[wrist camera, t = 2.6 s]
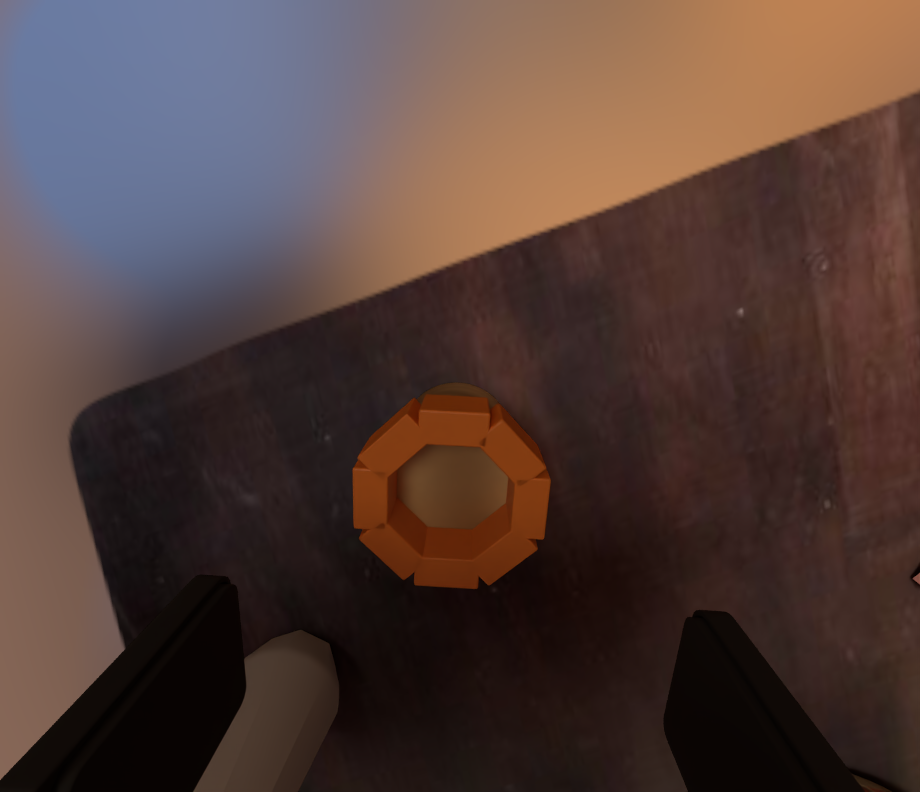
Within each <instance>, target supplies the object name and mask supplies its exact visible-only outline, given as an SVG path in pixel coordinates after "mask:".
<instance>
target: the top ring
mask: <svg viewBox="0 0 920 792" xmlns="http://www.w3.org/2000/svg"><path fill="white" fill-rule="evenodd" d="M427 444H428V445H446V446H464V447H480V448H481V449H482V450H483V451H484V452H485V453H486V455H487V456H488V457H489V458H490V459H491V460H492V461H493V462H494V463H495V464H496V465H497V466H498V467H499V468H500V469H501V470H502V471H503V472H504V474H505V475H506V476H507V477H508V484H507V496H506V503H505V504H504V505H503V506H502V507H500V508H499V509H498V510H496V511H495V512H494V513H493V514H491V515H490V516H489V517H487V518H486V519H485V520H484V521H482V522H481V523H480V524H478V525H477V526H476V527H475V528H473V529H456V528H439V527H427V526H426V525H425V524H424V523H423V522H422V521H421V520H420V519H419V518H418V517H417V516H416V515H415V514H414V513H413V512H412V511H411V510H410V509H409V508H408V507H407V506H406V505H405V504H404V503H402V502H401V501H400V500H399V499H398V498H397V469H399V468H400V467H401V466H402V465H403V464H404V463H406V462H407V461H408V460H409V459H410V458H411V457H413V456H414V455H415V454H416V453H417V452H418V451H420V450H421V449H422V448H423V447H424V446H425V445H427ZM358 459H359V460H358V461H357V463H356V464H355V466H354V468H353V521H354V528H355V529H363V530H362V532H361V535H360V537H359V539H360V541H362V542H363V543H364V544H365V545H366V546H367V547H368V548H369V549H370V550H371V551H372V552H373V553H374V554H376V555H377V556H378V557H379V558H380V559H381V560H382V561H383V562H384V563H385V564H386V565H387V566H388V567H390V568H391V569H392V570H393V571H394V572H395V573H396V574H397V575H398V576H399V577H400V578H401V579H402V580H405V579H406V578H408V577H409V576H410V575H411V574H413V573H414V584H415V585H417V586H434V587H451V588H468V589H477V588H478V583H479V577H480V578H481V579H482V580H483V581H484V582H485V583H486V584H487V585H491V584H492V583H493V582H495V581H496V580H497V579H499V578H500V577H501V576H503V575H504V574H505V573H507V572H508V571H510V570H511V569H512V568H514V567H515V566H516V565H518V564H519V563H520V562H522V561H523V560H524V559H526V558H527V557H528V556H530V555H531V554H532V553H534V552H535V551H537V549H538V547H537V543H536V539H541V540H542V539H544V536H545V528H546V519H547V510H548V502H549V493H550V484H551V479H550V477H549V474H548V472H547V469H546V465H545V463H544V460H543V458H542V455H541V453H540V450H539V448H538V445H537V444H536V443H535V442H534V441H533V440H532V439H531V437H530V436H529V435H528V434H527V433H526V432H525V431H524V430H523V429H522V428H521V426H520V425H519V424H518V423H517V422H516V421H515V420H514V419H513V418H512V417H511V416H510V414H509V413H508V412H507V411H506V410H505V409H504V408H503V407H502V406H501V405H500V404H499V403H498V404H496V405H495V406H494V407H492V408H491V409H490V408H489V401H488V398H486V397H469V396H451V395H432V394H426V395H425V397H424V399H423V402H422V404H420V403H419V402H418V401H417V400H416V399H415V398H413V399H412V400H411V401H410V402H409V403H407V404H406V405H405V406H404V407H403V408H402V409H401V410H400V411H399V412H397V413H396V414H395V415H394V416H393V417H392V418H391V419H390V420H388V421H387V422H386V423H385V424H384V425H383V426H382V427H381V428H379V429H378V430H377V431H376V432H375V433H374V434H373V435H372V436H371V437H370V438H369V440H368V441H367V443H366V444H365V446H364V448H363V449H362V451H361V452H360V454H359V456H358Z"/></svg>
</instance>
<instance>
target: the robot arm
mask: <svg viewBox="0 0 920 792" xmlns="http://www.w3.org/2000/svg"><path fill="white" fill-rule="evenodd" d="M245 693H246V674H245V664H244V653H243V643H242V633H241V622H240V612H239V601H238V591H237V587H236V586H235V585H233V584H231V583H230V580H229V578H228V577H225V576H213V575H197V576H196V577H194V578H193V579H192V580H191V581H190V582H189V583H188V584H187V585H186V586H185V587H184V588H183V589H182V590H181V592H180V593H179V594H178V595H177V596H176V597H175V598H174V599H173V600H172V601H171V602H170V603H169V604H168V605H167V606H166V607H165V608H164V609H163V610H162V611H161V612H160V613H159V615H158V616H157V617H156V618H155V619H154V620H153V621H152V622H151V623H150V624H149V625H148V626H147V627H146V628H145V629H144V630H143V631H142V632H141V633H140V634H139V635H138V637H137V638H136V639H135V640H134V641H133V642H132V643H131V644H130V645H129V646H128V647H127V648H126V649H125V650H124V651H123V652H122V653H121V654H120V655H119V656H118V658H116V660H115V661H114V662H113V663H112V664H111V665H110V666H109V667H108V668H107V669H106V670H105V671H104V672H103V673H102V674H101V675H100V676H99V678H97V680H96V681H95V682H94V683H93V684H92V685H91V686H90V687H89V688H88V689H87V690H86V691H85V692H84V693H83V694H82V695H81V696H80V697H79V698H78V699H77V700H76V701H75V702H74V704H73V705H72V706H71V707H70V708H69V709H68V710H67V711H66V712H65V713H64V714H63V715H62V716H61V717H60V718H59V719H58V721H56V722H55V723H54V725H52V727H51V728H50V729H49V730H48V731H47V732H46V733H45V734H44V735H43V736H42V737H41V738H40V739H39V740H38V741H37V742H36V743H35V744H34V745H33V746H32V747H31V749H30V750H29V751H28V752H27V753H26V754H25V755H24V756H23V757H22V758H21V759H20V760H19V761H18V762H17V763H16V764H15V765H14V766H13V767H12V768H11V769H10V770H9V772H8V773H7V774H6V775H5V776H4V777H3V778H2V779H1V780H0V792H193V791H194V790H195V788H196V786H197V784H198V782H199V781H200V779H201V777H202V775H203V773H204V772H205V770H206V768H207V766H208V764H209V763H210V761H211V759H212V757H213V755H214V754H215V752H216V750H217V748H218V746H219V745H220V743H221V741H222V739H223V737H224V736H225V734H226V732H227V730H228V728H229V727H230V725H231V723H232V721H233V719H234V718H235V716H236V714H237V712H238V710H239V709H240V707H241V705H242V703H243V700H244V697H245ZM664 731H665V735H666V738H667V741H668V743H669V746H670V748H671V751H672V753H673V756H674V758H675V760H676V763H677V765H678V768H679V770H680V773H681V775H682V777H683V780H684V782H685V785H686V787H687V790H688V792H865V791H864V789H863V788H862V787H861V785H860V784H859V783H858V782H857V780H856V779H855V778H854V776H853V775H852V774H851V772H850V771H849V770H848V768H847V767H846V766H845V764H844V763H843V762H842V760H841V759H840V758H839V756H838V755H837V754H836V752H835V751H834V750H833V748H832V747H831V746H830V745H829V743H828V742H827V741H826V739H825V738H824V737H823V735H822V734H821V733H820V731H819V730H818V729H817V727H816V726H815V725H814V723H813V722H812V721H811V719H810V718H809V717H808V715H807V714H806V713H805V712H804V710H803V709H802V708H801V706H800V705H799V704H798V702H797V701H796V700H795V698H794V697H793V696H792V694H791V693H790V692H789V690H788V689H787V688H786V686H785V685H784V684H783V682H782V681H781V680H780V678H779V677H778V676H777V675H776V673H775V672H774V671H773V669H772V668H771V667H770V665H769V664H768V663H767V661H766V660H765V659H764V657H763V656H762V655H761V653H760V652H759V651H758V649H757V648H756V647H755V645H754V644H753V643H752V642H751V640H750V639H749V638H748V636H747V635H746V634H745V632H744V631H743V630H742V628H741V627H740V626H739V624H738V623H737V622H736V620H735V619H734V618H733V617H732V616H731V615H730V614H729V613H727V612H721V611H707V610H696V611H695V612H694V614H693V617H687V619H686V620H685V623H684V628H683V632H682V637H681V641H680V646H679V650H678V655H677V659H676V664H675V668H674V673H673V677H672V682H671V686H670V691H669V695H668V700H667V704H666V709H665V713H664Z"/></svg>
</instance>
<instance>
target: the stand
mask: <svg viewBox="0 0 920 792" xmlns="http://www.w3.org/2000/svg"><path fill="white" fill-rule="evenodd" d="M426 394H432V395H451V396H469V397H486V398H488V401H489V408H490V409H491V408H492V407H494V406H495V405H496V404H498V403H499V402H498V401H497V400H496V399H495V398H494V397H493V396H492V395H490V394H489V393H488V392H486V391H485V390H483V389H481V388H479V387H476V386H474V385H470V384H466V383H446V384H442V385H438V386H436V387H433V388H431V389H429V390H428V391H426V392H425V393H423V394H422V395H421V396H420V397H419V398H418V399H417V401H418V402H419V403H420V404H422V402H423V399H424V397H425V395H426ZM507 484H508V477H507V476H506V475H505V474H504V472H503V471H502V470H501V469H500V468H499V467H498V466H497V465H496V464H495V463H494V462H493V461H492V460H491V459H490V458H489V457H488V456H487V455H486V453H485V452H484V451H483V450H482V449H481V448H480V447H464V446H446V445H428V444H427V445H425V446H424V447H423V448H422V449H421V450H420V451H418V452H417V453H416V454H415V455H414V456H413V457H411V458H410V459H409V460H408V461H407V462H406V463H404V464H403V465H402V466H401V467H400V468H399V469H397V498H398V499H399V500H400V501H401V502H402V503H404V504H405V505H406V506H407V507H408V508H409V509H410V510H411V511H412V512H413V513H414V514H415V515H416V516H417V517H418V518H419V519H420V520H421V521H422V522H423V523H424V524H425V525H426V526H427V527H439V528H456V529H473V528H475V527H476V526H477V525H478V524H480V523H481V522H482V521H484V520H485V519H486V518H487V517H489V516H490V515H491V514H493V513H494V512H495V511H496V510H498V509H499V508H500V507H502V506H503V505H504V504H505V503H506V496H507Z"/></svg>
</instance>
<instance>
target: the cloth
mask: <svg viewBox="0 0 920 792" xmlns="http://www.w3.org/2000/svg"><path fill="white" fill-rule="evenodd" d="M913 579H914V580H915V581H916V582H917V583H919V584H920V573H919V574H918V575H916V576H915V577H914V578H913Z"/></svg>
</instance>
